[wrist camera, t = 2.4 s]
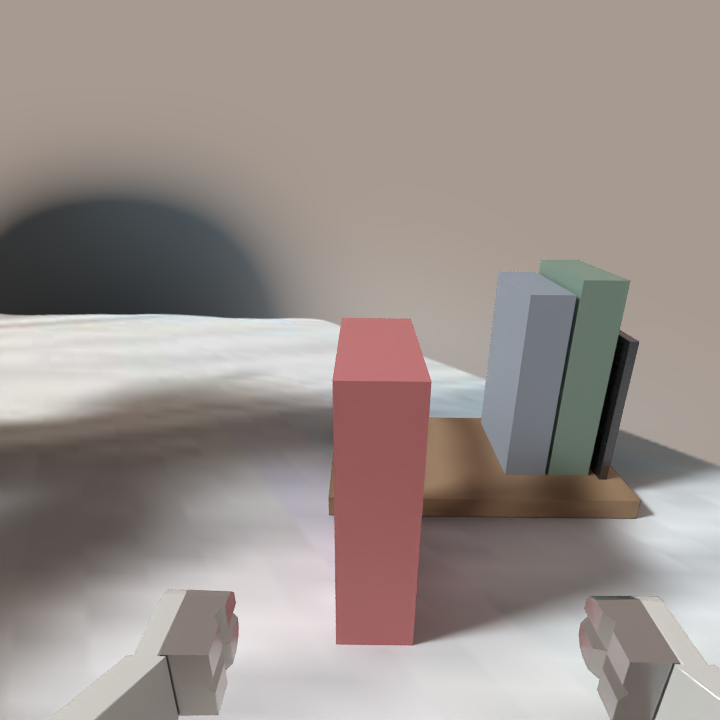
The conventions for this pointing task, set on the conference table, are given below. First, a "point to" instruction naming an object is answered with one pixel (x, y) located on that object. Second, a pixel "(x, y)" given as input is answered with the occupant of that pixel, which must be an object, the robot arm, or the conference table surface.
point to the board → (506, 482)
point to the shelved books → (551, 365)
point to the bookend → (613, 404)
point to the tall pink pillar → (378, 478)
